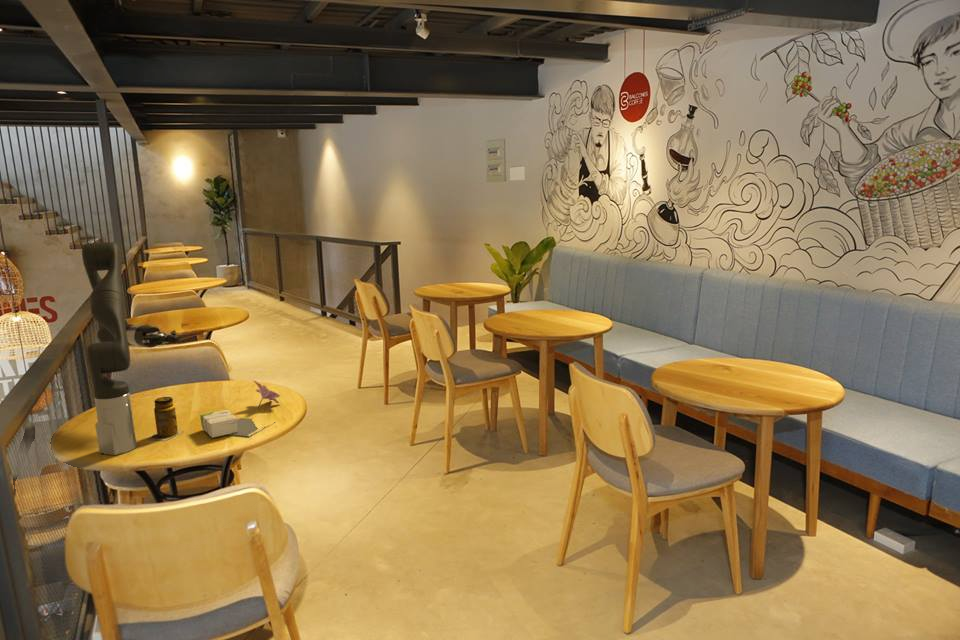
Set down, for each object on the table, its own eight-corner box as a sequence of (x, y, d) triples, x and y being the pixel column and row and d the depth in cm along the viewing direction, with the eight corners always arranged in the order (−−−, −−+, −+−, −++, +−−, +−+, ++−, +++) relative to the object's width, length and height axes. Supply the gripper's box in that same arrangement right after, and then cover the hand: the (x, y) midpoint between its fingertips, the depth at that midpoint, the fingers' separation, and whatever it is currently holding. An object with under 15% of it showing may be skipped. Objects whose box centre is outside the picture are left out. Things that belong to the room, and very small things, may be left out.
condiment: (184, 431, 213) (179, 396, 210) (165, 441, 205) (160, 404, 202) (165, 430, 215) (160, 395, 212) (146, 439, 207) (141, 403, 204)
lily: (281, 413, 231) (288, 386, 234) (247, 405, 226) (255, 378, 229) (274, 414, 241) (281, 389, 244) (242, 407, 236) (249, 381, 239)
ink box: (201, 428, 214) (211, 439, 204) (200, 414, 213) (209, 423, 203) (229, 422, 218) (239, 432, 209) (227, 408, 217) (237, 417, 208)
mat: (249, 437, 206) (249, 435, 206) (212, 433, 210) (212, 432, 210) (276, 422, 219) (275, 420, 219) (240, 418, 223) (240, 417, 223)
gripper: (124, 328, 220) (158, 332, 212) (159, 321, 232) (192, 324, 224) (127, 350, 222) (160, 355, 214) (162, 342, 233) (195, 346, 225)
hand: (177, 339), depth 219 cm, fingers closed
